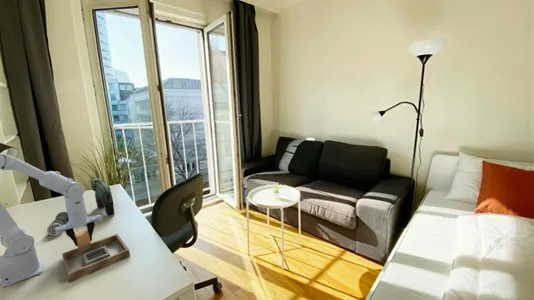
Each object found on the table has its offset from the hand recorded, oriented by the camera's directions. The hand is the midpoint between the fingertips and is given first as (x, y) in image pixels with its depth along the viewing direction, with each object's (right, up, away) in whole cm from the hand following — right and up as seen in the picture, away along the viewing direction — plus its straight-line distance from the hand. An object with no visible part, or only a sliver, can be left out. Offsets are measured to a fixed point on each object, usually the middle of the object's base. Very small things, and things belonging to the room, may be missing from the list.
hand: (83, 242), depth 98 cm
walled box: (+11, -3, -7) cm, 13 cm away
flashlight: (-23, 0, +17) cm, 29 cm away
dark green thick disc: (-12, +5, +33) cm, 35 cm away
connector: (0, -2, 0) cm, 2 cm away
